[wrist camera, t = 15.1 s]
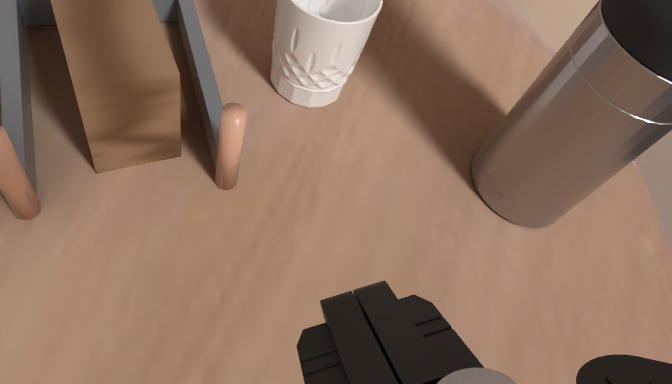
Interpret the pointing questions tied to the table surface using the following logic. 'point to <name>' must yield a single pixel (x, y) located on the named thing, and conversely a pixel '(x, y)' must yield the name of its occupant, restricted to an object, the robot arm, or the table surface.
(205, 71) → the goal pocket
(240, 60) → the table surface
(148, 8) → the walnut block
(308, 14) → the white cup
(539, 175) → the robot arm
